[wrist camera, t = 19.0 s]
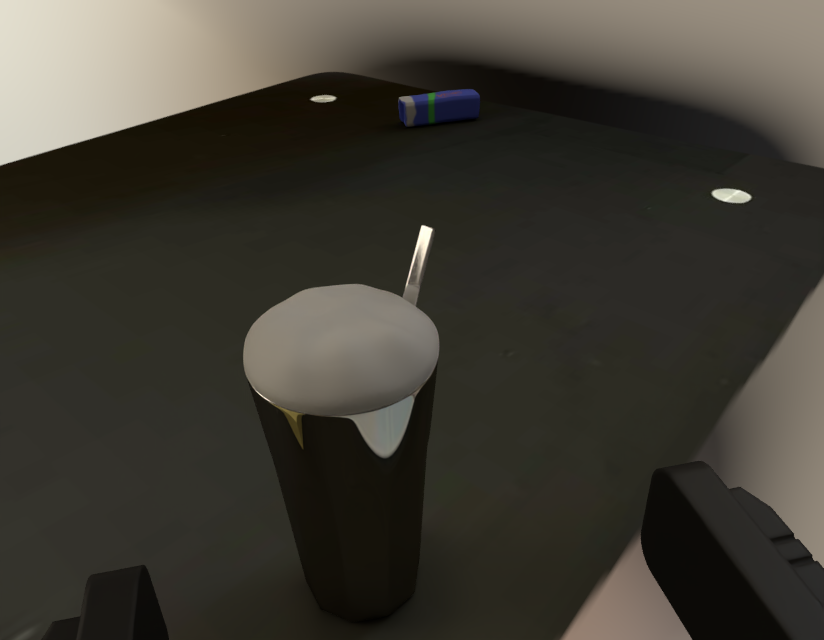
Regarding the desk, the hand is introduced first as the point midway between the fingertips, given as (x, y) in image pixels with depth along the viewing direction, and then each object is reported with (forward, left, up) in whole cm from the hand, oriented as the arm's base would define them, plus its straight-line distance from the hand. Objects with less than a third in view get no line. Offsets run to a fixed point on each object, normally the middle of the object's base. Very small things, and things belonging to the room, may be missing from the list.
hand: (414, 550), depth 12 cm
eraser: (+28, -40, -9) cm, 50 cm away
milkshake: (+5, -4, -9) cm, 11 cm away
